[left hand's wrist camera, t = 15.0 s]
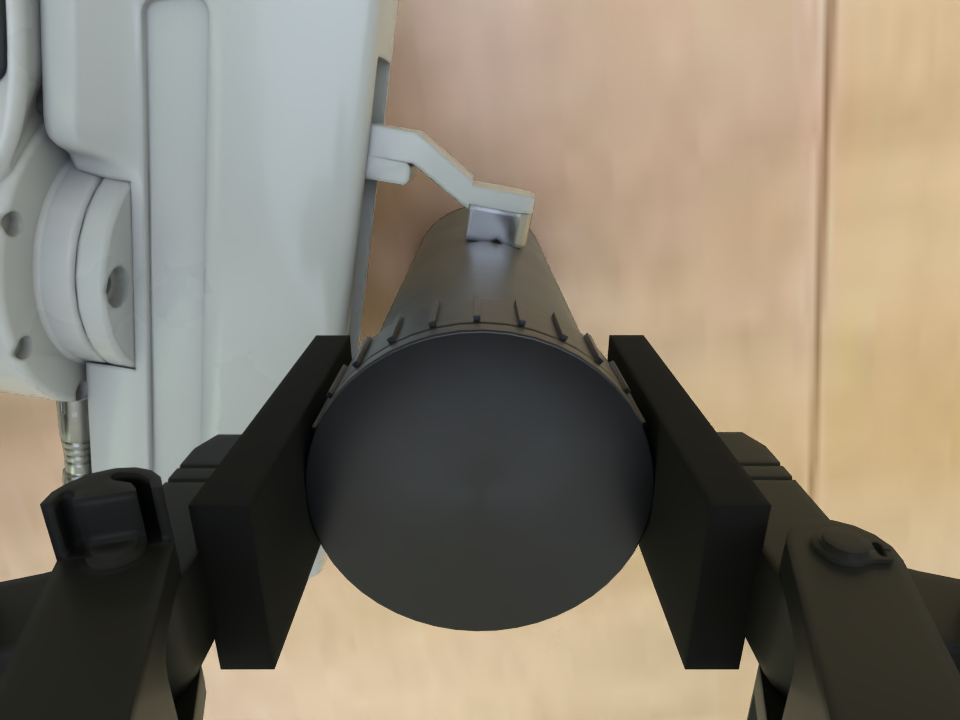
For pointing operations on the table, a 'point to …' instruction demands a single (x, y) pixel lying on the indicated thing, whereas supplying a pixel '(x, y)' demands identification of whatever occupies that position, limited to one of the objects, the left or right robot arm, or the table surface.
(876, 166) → the table surface
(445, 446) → the lid
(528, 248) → the dark grey cylinder
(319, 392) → the left robot arm
